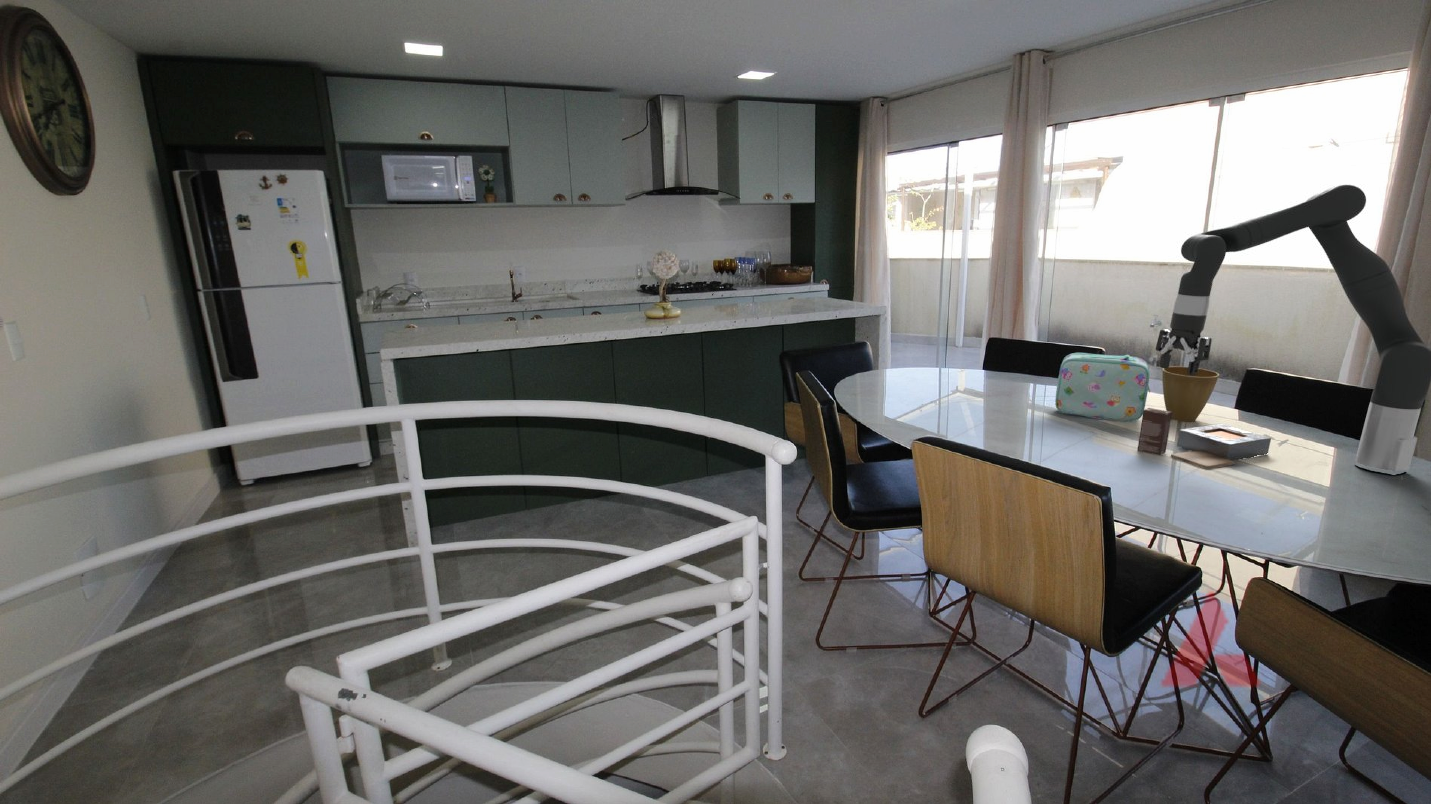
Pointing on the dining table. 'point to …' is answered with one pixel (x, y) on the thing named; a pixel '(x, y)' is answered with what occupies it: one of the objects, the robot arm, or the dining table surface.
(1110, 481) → the dining table surface
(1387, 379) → the robot arm
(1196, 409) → the plant pot
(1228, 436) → the button
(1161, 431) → the box
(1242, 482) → the dining table surface
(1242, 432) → the breaker guard
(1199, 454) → the walnut pad
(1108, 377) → the lunch box
